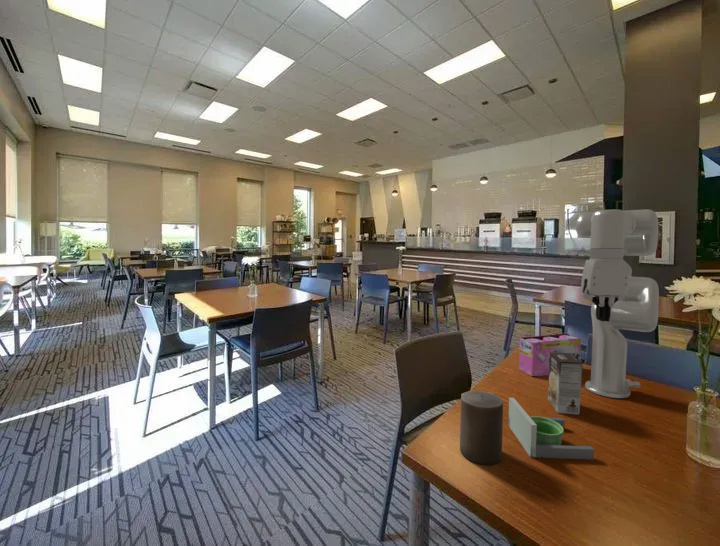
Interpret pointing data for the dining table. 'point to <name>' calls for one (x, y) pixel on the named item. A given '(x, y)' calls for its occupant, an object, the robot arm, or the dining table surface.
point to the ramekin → (547, 431)
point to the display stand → (527, 437)
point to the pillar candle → (481, 427)
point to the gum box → (545, 351)
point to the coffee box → (565, 383)
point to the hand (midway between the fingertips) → (602, 320)
